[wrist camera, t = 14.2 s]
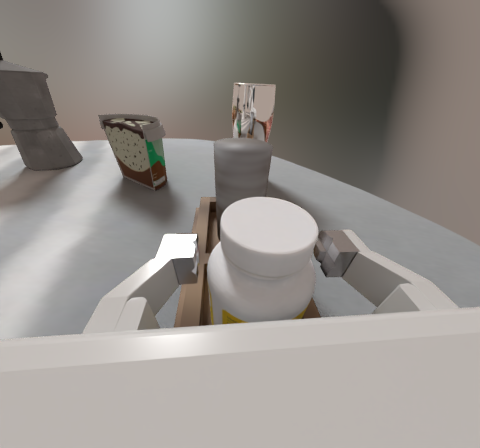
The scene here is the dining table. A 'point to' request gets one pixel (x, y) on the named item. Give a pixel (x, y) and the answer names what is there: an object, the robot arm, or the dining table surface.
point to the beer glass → (252, 110)
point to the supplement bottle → (262, 262)
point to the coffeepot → (34, 119)
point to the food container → (137, 147)
